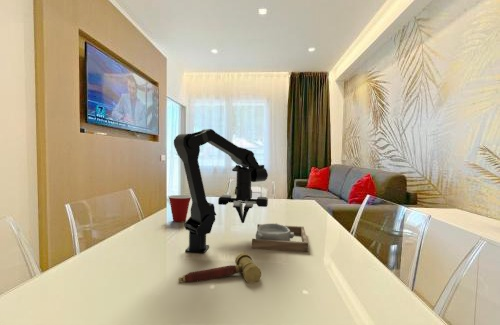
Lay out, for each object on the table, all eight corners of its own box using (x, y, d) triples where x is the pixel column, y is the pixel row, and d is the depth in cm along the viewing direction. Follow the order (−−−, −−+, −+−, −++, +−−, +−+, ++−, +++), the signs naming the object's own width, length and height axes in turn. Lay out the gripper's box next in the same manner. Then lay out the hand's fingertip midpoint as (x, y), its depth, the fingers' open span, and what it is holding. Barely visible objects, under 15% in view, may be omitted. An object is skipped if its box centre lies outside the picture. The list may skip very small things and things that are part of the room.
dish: (258, 248, 95) (258, 234, 95) (251, 235, 108) (251, 223, 108) (297, 246, 97) (297, 232, 97) (285, 234, 111) (286, 222, 111)
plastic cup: (194, 218, 133) (194, 194, 132) (187, 224, 122) (187, 197, 121) (173, 217, 134) (173, 193, 133) (163, 222, 123) (164, 196, 123)
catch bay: (307, 252, 92) (307, 243, 92) (251, 248, 94) (251, 239, 94) (303, 233, 112) (303, 226, 112) (257, 230, 114) (257, 223, 114)
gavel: (178, 280, 64) (176, 263, 74) (179, 298, 64) (177, 279, 74) (261, 265, 70) (249, 251, 80) (262, 282, 71) (250, 266, 80)
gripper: (269, 181, 111) (268, 218, 112) (224, 179, 113) (224, 216, 114) (267, 184, 100) (266, 226, 101) (218, 182, 102) (217, 223, 103)
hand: (242, 222), depth 105 cm, fingers closed
